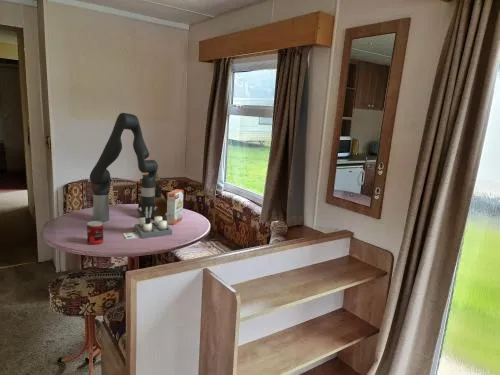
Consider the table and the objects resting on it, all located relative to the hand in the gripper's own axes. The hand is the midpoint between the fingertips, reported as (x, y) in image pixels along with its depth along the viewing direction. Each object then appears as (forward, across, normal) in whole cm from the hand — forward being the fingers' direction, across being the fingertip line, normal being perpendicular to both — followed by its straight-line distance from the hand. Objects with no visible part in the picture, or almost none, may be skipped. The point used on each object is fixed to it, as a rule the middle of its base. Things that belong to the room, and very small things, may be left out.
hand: (147, 223), depth 205 cm
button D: (+4, -9, 0) cm, 10 cm away
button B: (+4, -9, -9) cm, 13 cm away
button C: (+5, 0, 0) cm, 5 cm away
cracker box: (+7, -23, -20) cm, 32 cm away
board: (+7, -4, -5) cm, 10 cm away
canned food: (+7, +29, +2) cm, 30 cm away
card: (+7, +8, -2) cm, 11 cm away
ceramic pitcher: (+7, -13, -36) cm, 39 cm away
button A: (+4, 0, -9) cm, 10 cm away
